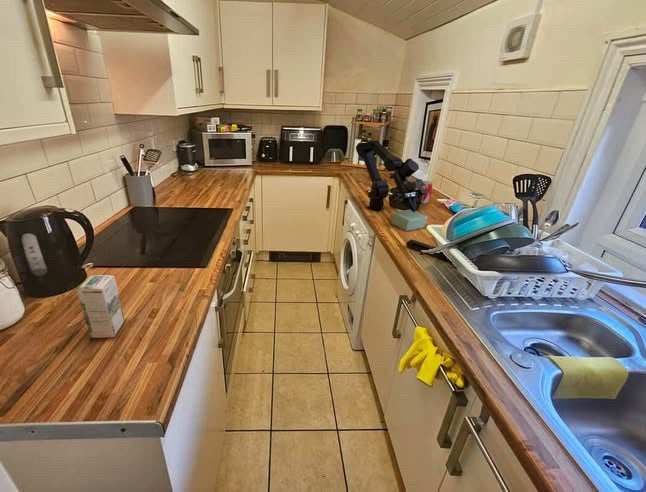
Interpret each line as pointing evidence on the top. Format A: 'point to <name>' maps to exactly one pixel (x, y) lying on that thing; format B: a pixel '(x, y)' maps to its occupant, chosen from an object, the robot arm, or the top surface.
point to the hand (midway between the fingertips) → (414, 211)
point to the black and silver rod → (425, 248)
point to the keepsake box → (408, 223)
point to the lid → (410, 215)
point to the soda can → (428, 187)
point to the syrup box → (101, 306)
